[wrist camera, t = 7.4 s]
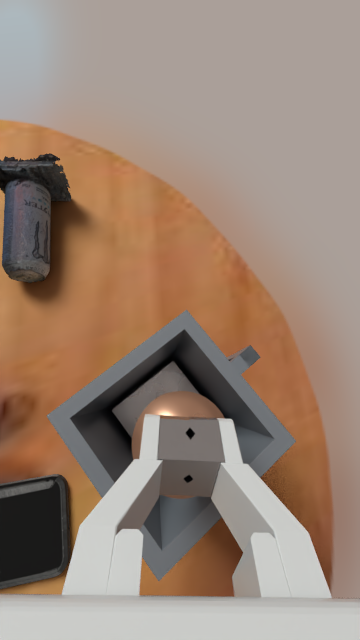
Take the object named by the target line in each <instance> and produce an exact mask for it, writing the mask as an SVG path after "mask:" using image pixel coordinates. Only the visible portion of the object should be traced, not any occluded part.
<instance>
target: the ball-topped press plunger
mask: <svg viewBox="0 0 360 640" xmlns="http://www.w3.org/2000/svg"><path fill="white" fill-rule="evenodd" d="M112 412H113V413H114V414H115V416H116V417H117V419H118V420H119V421H120V423H121V424H122V425H123V427H124V428H125V430H126V431H127V432H128V434H129V435H130V436H131V438H132V455H133V460H134V459H139V457H140V449H141V440H142V432H143V423H144V417H145V414H152V415H167V416H180V417H208V418H224V416H223V414H222V413H221V411H220V410H219V409H218V408H217V407H216V405H215V404H214V403H212V402H211V401H210V400H209V399H207V398H205V397H204V396H202V395H200V394H199V393H198V391H197V390H196V389H195V388H194V386H193V385H192V384H191V383H190V381H189V380H188V379H187V378H186V376H185V375H184V374H183V373H182V371H181V370H180V369H179V368H178V366H177V365H176V364H175V362H174V361H172V362H171V363H170V364H169V365H167V366H166V367H165V368H164V369H162V370H161V371H160V372H159V373H157V374H156V375H155V376H154V377H152V378H151V379H150V380H149V381H147V382H146V383H145V384H144V385H142V386H141V387H140V388H139V389H137V390H136V391H135V392H134V393H132V394H131V395H130V396H129V397H127V398H126V399H125V400H124V401H122V402H121V403H120V404H119V405H117V406H116V407H115V408H114V409H112ZM224 419H225V418H224ZM163 496H167V497H170V498H176V499H186V498H192V497H195V496H186V495H163Z"/></svg>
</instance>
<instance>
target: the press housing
mask: <svg viewBox="0 0 360 640" xmlns="http://www.w3.org/2000/svg"><path fill="white" fill-rule="evenodd" d="M259 358H260V356H259V355H258V354H257V352H256V351H255V350H254V349H253V348H252V347H251V345H250V346H248V347H246V348H244V349H242V350H240V351H238V352H237V353H235V354H233V355H231V356H229V357H227V358H226V357H225V355H224V354H223V353H222V352H221V351H220V349H219V348H218V347H217V346H216V345H215V343H214V342H213V341H212V340H211V339H210V337H209V336H208V335H207V334H206V333H205V331H204V330H203V329H202V328H201V327H200V325H199V324H198V323H197V322H196V321H195V319H194V318H193V317H192V316H191V315H190V313H189V312H188V311H187V310H186V311H184V312H183V313H182V314H180V315H179V316H178V317H176V318H175V319H174V320H172V321H171V322H170V323H168V324H167V325H166V326H164V327H163V328H162V329H161V330H159V331H158V332H157V333H155V334H154V335H153V336H151V337H150V338H149V339H147V340H146V341H145V342H143V343H142V344H141V345H139V346H138V347H137V348H135V349H134V350H133V351H131V352H130V353H129V354H127V355H126V356H125V357H124V358H122V359H121V360H120V361H118V362H117V363H116V364H114V365H113V366H112V367H110V368H109V369H108V370H106V371H105V372H104V373H102V374H101V375H100V376H98V377H97V378H96V379H94V380H93V381H92V382H91V383H89V384H88V385H87V386H85V387H84V388H83V389H81V390H80V391H79V392H77V393H76V394H75V395H73V396H72V397H71V398H69V399H68V400H67V401H65V402H64V403H63V404H61V405H60V406H59V407H58V408H56V409H55V410H54V411H52V412H51V413H50V414H48V415H47V417H48V419H49V420H50V422H51V423H52V425H53V426H54V428H55V429H56V431H57V432H58V434H59V435H60V437H61V438H62V439H63V441H64V442H65V444H66V445H67V447H68V448H69V450H70V451H71V453H72V454H73V456H74V457H75V459H76V460H77V462H78V463H79V464H80V466H81V467H82V469H83V470H84V472H85V473H86V475H87V476H88V478H89V479H90V481H91V482H92V484H93V485H94V487H95V488H96V490H97V491H98V492H99V494H100V495H101V497H102V498H103V497H104V496H105V494H106V493H107V492H108V491H109V490H110V488H111V487H112V486H113V485H114V484H115V482H116V481H117V480H118V479H119V477H120V476H121V475H122V474H123V473H124V471H125V470H126V469H127V468H128V466H129V465H130V464H131V463H132V462H133V455H132V438H131V436H130V435H129V434H128V432H127V431H126V430H125V428H124V427H123V425H122V424H121V423H120V421H119V420H118V419H117V417H116V416H115V414H114V413H113V412H112V409H114V408H115V407H116V406H117V405H119V404H120V403H121V402H122V401H124V400H125V399H126V398H127V397H129V396H130V395H131V394H132V393H134V392H135V391H136V390H137V389H139V388H140V387H141V386H142V385H144V384H145V383H146V382H147V381H149V380H150V379H151V378H152V377H154V376H155V375H156V374H157V373H159V372H160V371H161V370H162V369H164V368H165V367H166V366H167V365H169V364H170V363H171V362H172V361H174V362H175V364H176V365H177V366H178V368H179V369H180V370H181V371H182V373H183V374H184V375H185V376H186V378H187V379H188V380H189V381H190V383H191V384H192V385H193V386H194V388H195V389H196V390H197V391H198V393H199V394H200V395H202V396H204V397H205V398H207V399H209V400H210V401H211V402H212V403H214V404H215V405H216V407H217V408H218V409H219V410H220V411H221V413H222V414H223V416H224V418H225V419H232V420H233V422H234V426H235V430H236V434H237V439H238V443H239V447H240V452H241V456H242V460H243V464H248V465H249V466H250V467H251V468H252V469H253V470H254V472H255V473H256V474H257V475H258V476H259V477H261V476H262V475H263V474H264V473H265V472H266V471H267V470H268V469H269V468H270V467H271V466H272V465H273V464H274V463H275V462H276V461H277V460H278V459H279V458H280V457H281V456H282V455H283V454H284V453H285V452H286V451H287V450H288V449H289V448H290V447H291V446H292V445H293V444H294V443H295V442H296V441H295V439H294V438H293V437H292V436H291V435H290V433H289V432H288V431H287V430H286V429H285V427H284V426H283V425H282V424H281V423H280V421H279V420H278V419H277V418H276V417H275V415H274V414H273V413H272V412H271V411H270V409H269V408H268V407H267V406H266V405H265V403H264V402H263V401H262V400H261V399H260V397H259V396H258V395H257V394H256V393H255V391H254V390H253V389H252V388H251V387H250V385H249V384H248V383H247V382H246V381H245V379H244V378H243V377H242V376H241V374H242V373H243V372H244V371H245V370H247V369H248V368H249V367H250V366H251V365H252V364H253V363H255V362H256V361H257V360H258V359H259ZM221 517H222V516H221V514H220V513H219V511H218V509H217V508H216V506H215V504H214V503H213V501H212V499H211V497H202V496H195V497H192V498H186V499H176V498H170V497H167V496H163V495H159V498H158V500H157V501H156V503H155V505H154V506H153V508H152V510H151V512H150V513H149V515H148V517H147V518H146V520H145V522H144V524H143V525H142V527H141V529H140V530H139V531H140V532H141V533H142V534H143V548H142V557H143V559H144V560H145V562H146V563H147V565H148V566H149V568H150V569H151V571H152V572H153V573H154V575H155V576H156V578H157V579H158V581H160V580H161V579H162V577H163V576H164V575H165V574H166V573H167V572H168V571H169V570H170V569H171V568H172V567H173V566H174V565H175V564H176V563H177V562H178V561H179V560H180V559H181V558H182V557H183V556H184V555H185V554H186V553H187V552H188V551H189V550H190V549H191V548H192V547H193V546H194V545H195V544H196V543H197V542H198V541H199V540H200V539H201V538H202V537H203V536H204V535H205V534H206V533H207V532H208V531H209V529H210V528H211V527H212V526H213V525H214V524H215V523H216V522H217V521H218V520H219V519H220V518H221Z"/></svg>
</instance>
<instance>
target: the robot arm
mask: <svg viewBox="0 0 360 640" xmlns="http://www.w3.org/2000/svg"><path fill="white" fill-rule="evenodd" d="M159 495H186V496H202V497H211V499H212V501H213V503H214V504H215V506H216V508H217V509H218V511H219V513H220V514H221V516H222V518H223V519H224V521H225V523H226V525H227V526H228V528H229V530H230V531H231V533H232V535H233V536H234V538H235V540H236V541H237V543H238V545H239V546H240V548H241V550H242V551H243V555H242V557H241V559H240V561H239V563H238V565H237V567H236V569H235V572H234V574H233V576H232V580H233V588H234V595H235V597H219V596H139V591H140V577H141V562H142V548H143V534H142V533H141V532H140V531H139V530H140V529H141V527H142V525H143V524H144V522H145V520H146V518H147V517H148V515H149V513H150V512H151V510H152V508H153V506H154V505H155V503H156V501H157V500H158V498H159ZM0 640H360V598H332V596H331V594H330V591H329V588H328V585H327V583H326V580H325V577H324V574H323V571H322V569H321V566H320V563H319V560H318V558H317V555H316V552H315V549H314V547H313V544H312V541H311V538H310V536H309V533H308V532H307V531H306V529H305V528H304V527H303V526H302V525H301V524H300V523H299V521H298V520H297V519H296V518H295V517H294V516H293V515H292V513H291V512H290V511H289V510H288V509H287V508H286V507H285V506H284V504H283V503H282V502H281V501H280V500H279V499H278V498H277V496H276V495H275V494H274V493H273V492H272V491H271V490H270V489H269V487H268V486H267V485H266V484H265V483H264V482H263V481H262V479H261V478H260V477H259V476H258V475H257V474H256V473H255V472H254V470H253V469H252V468H251V467H250V466H249V465H248V464H243V460H242V456H241V452H240V447H239V443H238V439H237V434H236V430H235V426H234V422H233V420H232V419H224V418H208V417H180V416H167V415H152V414H145V417H144V423H143V432H142V440H141V449H140V457H139V459H134V460H133V462H132V463H131V464H130V465H129V466H128V468H127V469H126V470H125V471H124V473H123V474H122V475H121V476H120V477H119V479H118V480H117V481H116V482H115V484H114V485H113V486H112V487H111V488H110V490H109V491H108V492H107V493H106V494H105V496H104V497H103V498H102V499H101V501H100V502H99V503H98V504H97V505H96V507H95V508H94V509H93V510H92V512H91V513H90V514H89V515H88V516H87V518H86V519H85V520H84V521H83V523H82V524H81V525H80V527H79V531H78V535H77V538H76V542H75V546H74V550H73V554H72V557H71V561H70V565H69V569H68V572H67V576H66V580H65V584H64V588H63V591H62V595H57V594H0Z"/></svg>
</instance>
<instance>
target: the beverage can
mask: <svg viewBox="0 0 360 640" xmlns="http://www.w3.org/2000/svg"><path fill="white" fill-rule="evenodd" d="M58 159H59V160H60V158H58V157H56V156H54V155H52V154H50V153H49V154H45V155H40V156H39V157H38V158H37V159H35V158H34V159H33V160H32V159H30V160H22V161H21V158H20V160H19V161H18V159H16V160H15V158H14V157H11V158H8V157H6V156H5V158H4V161H1V160H0V188H1V189H0V190H2V191H3V192H4V194H5V210H4V233H3V254H2V259H3V260H2V266H3V268H4V270H5V272H6V274H8V275H9V276H8V277H9V278H11V279H13V280H17V281H24V282H29V283H31V282H33V281H34V282H37V281H43V280H44V279H45V278H46V276H47V274H48V273H49V271H50V241H51V240H50V237H51V236H50V219H51V201H71V195H70V193H69V191H68V188H70V187H69V184H68V180H67V179H66V175H65V174H64V172H63V171H62V170H63V166H61V165H60V166H58V164H55V161H58ZM53 162H54V163H53ZM61 171H62V172H63V173H60V172H61ZM66 184H67V185H66ZM67 187H68V188H67ZM70 191H71V190H70Z"/></svg>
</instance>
